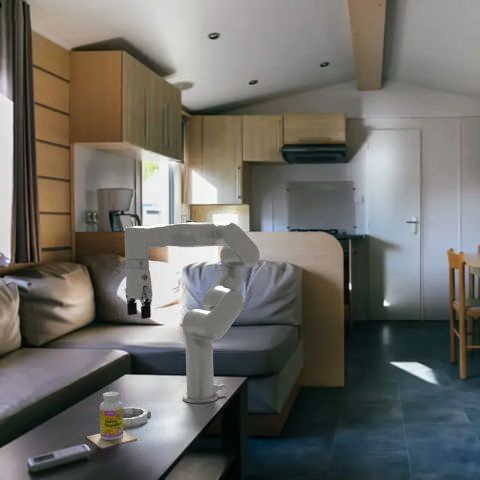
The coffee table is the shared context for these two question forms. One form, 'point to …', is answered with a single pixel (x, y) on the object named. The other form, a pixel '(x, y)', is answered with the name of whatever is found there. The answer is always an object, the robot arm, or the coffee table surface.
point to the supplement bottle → (111, 417)
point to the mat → (107, 443)
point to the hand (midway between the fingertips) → (139, 316)
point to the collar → (135, 421)
